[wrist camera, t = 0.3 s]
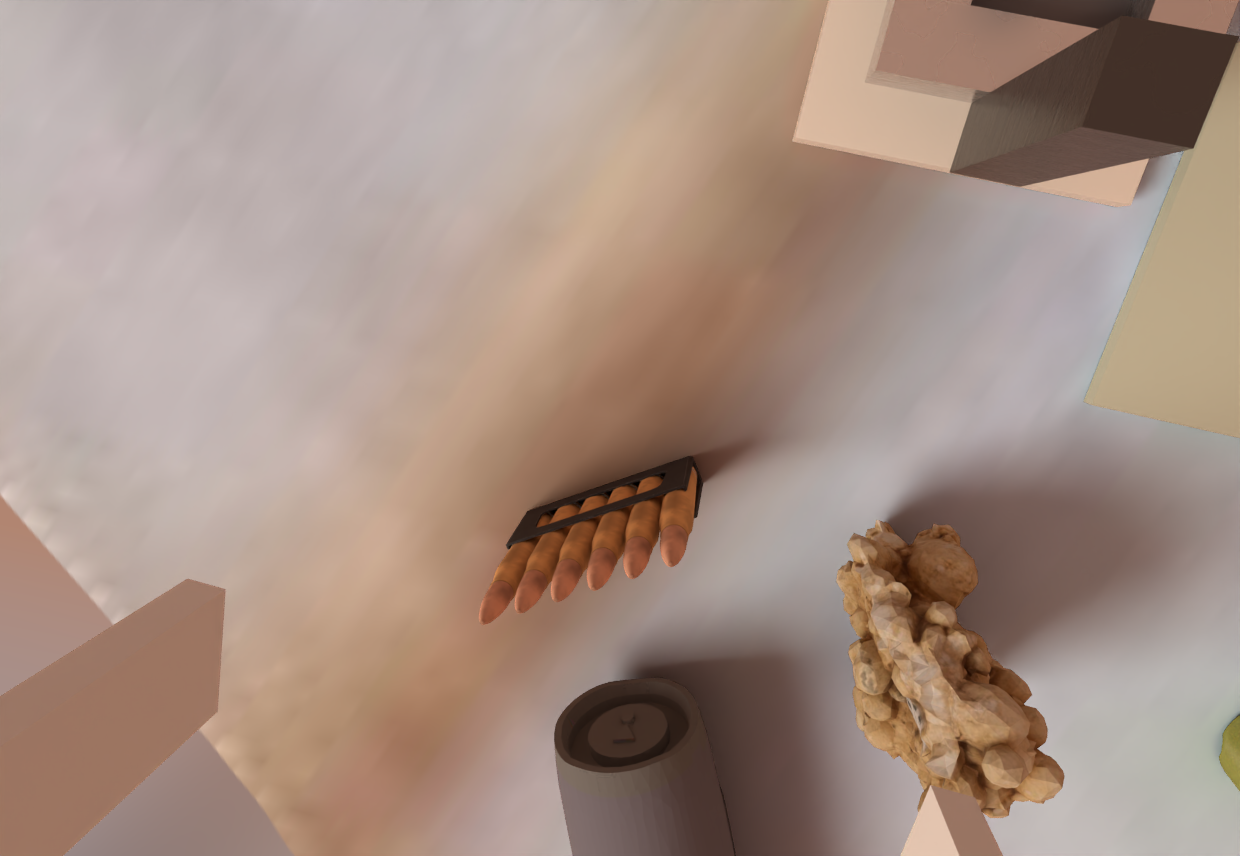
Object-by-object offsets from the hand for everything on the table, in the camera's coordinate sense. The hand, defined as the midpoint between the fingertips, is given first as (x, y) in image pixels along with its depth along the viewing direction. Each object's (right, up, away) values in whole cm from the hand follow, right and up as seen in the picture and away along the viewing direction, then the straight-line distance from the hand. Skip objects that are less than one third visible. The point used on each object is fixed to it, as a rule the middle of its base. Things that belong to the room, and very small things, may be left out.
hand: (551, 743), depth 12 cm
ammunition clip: (+1, +2, +28) cm, 28 cm away
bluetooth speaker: (+4, -20, +33) cm, 39 cm away
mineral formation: (+17, -4, +28) cm, 33 cm away
